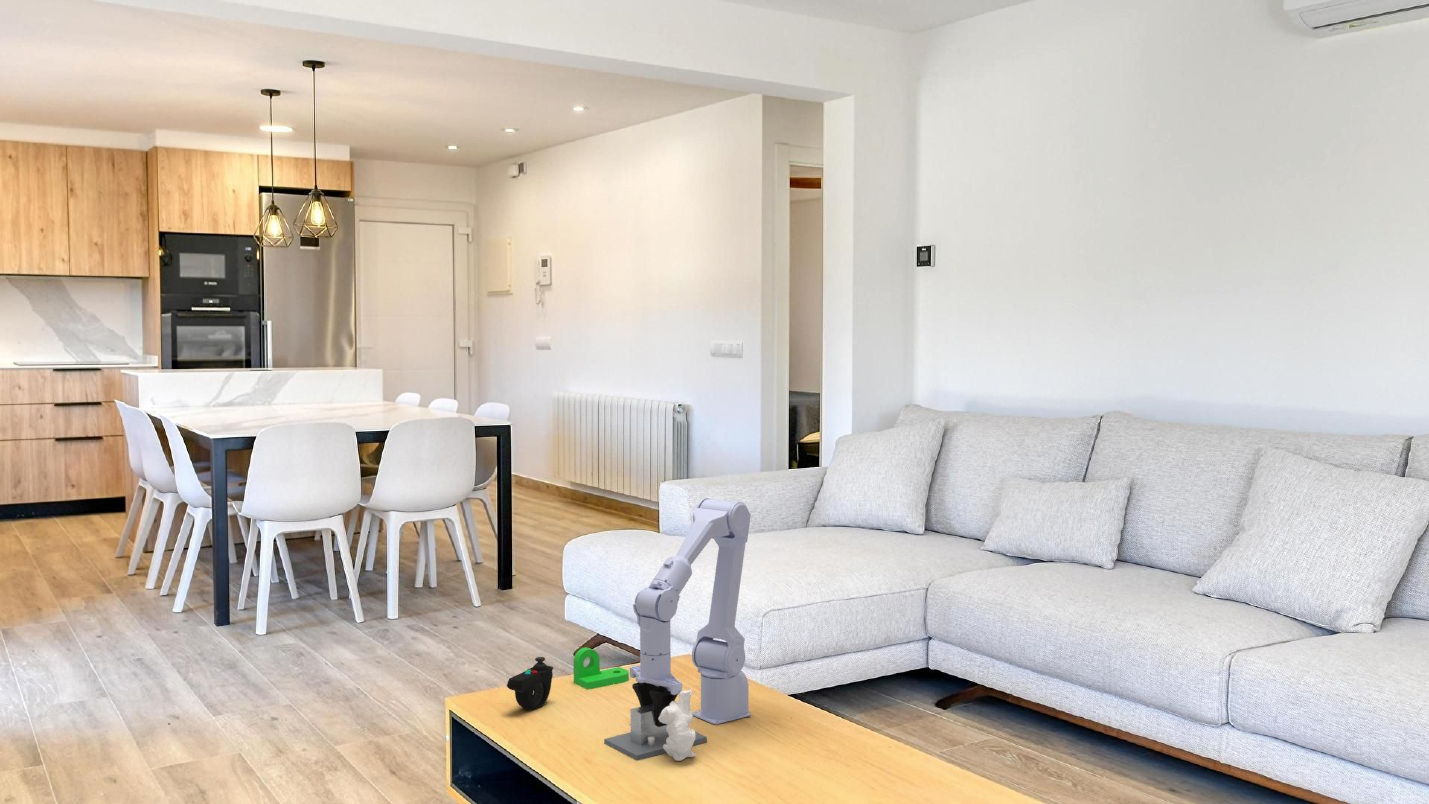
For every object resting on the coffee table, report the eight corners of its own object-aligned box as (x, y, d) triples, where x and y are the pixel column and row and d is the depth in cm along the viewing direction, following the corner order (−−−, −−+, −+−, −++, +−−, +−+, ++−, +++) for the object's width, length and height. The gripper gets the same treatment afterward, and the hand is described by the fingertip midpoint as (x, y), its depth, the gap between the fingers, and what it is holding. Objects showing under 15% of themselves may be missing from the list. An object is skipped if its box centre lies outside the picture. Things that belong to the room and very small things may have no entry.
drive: (669, 730, 224) (669, 699, 224) (680, 735, 222) (680, 704, 221) (630, 740, 219) (630, 709, 219) (641, 745, 216) (641, 713, 216)
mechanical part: (587, 691, 253) (587, 655, 253) (573, 685, 258) (573, 649, 257) (634, 681, 260) (633, 646, 260) (619, 675, 265) (619, 640, 265)
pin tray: (673, 726, 230) (672, 713, 229) (706, 742, 221) (706, 728, 221) (604, 744, 220) (604, 730, 220) (636, 760, 211) (636, 746, 211)
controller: (556, 703, 245) (556, 656, 244) (521, 720, 234) (521, 671, 233) (539, 700, 246) (539, 653, 246) (504, 717, 235) (503, 668, 235)
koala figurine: (680, 746, 218) (679, 683, 218) (708, 754, 214) (708, 690, 214) (651, 760, 212) (651, 695, 211) (680, 768, 208) (680, 701, 207)
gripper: (616, 647, 223) (616, 717, 223) (660, 663, 211) (660, 737, 212) (646, 641, 227) (647, 709, 228) (691, 657, 215) (691, 729, 216)
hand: (655, 722), depth 220 cm, fingers closed on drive, 3 cm apart
